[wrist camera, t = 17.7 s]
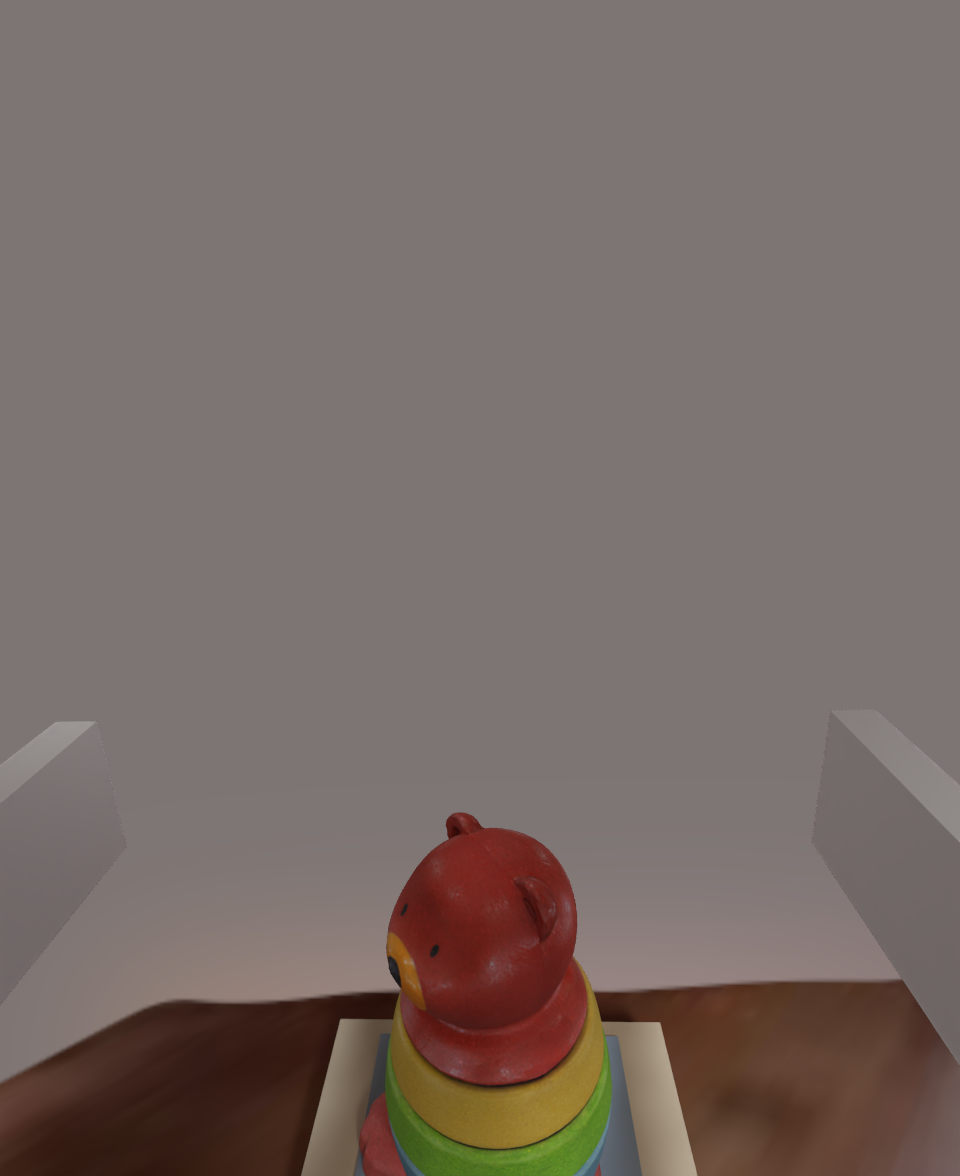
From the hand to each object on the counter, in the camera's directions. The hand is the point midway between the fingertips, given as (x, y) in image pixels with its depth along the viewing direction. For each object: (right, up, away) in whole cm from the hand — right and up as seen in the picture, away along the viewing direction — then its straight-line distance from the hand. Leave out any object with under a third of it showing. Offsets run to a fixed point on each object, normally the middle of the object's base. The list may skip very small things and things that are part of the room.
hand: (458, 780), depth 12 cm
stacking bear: (+1, -23, +18) cm, 29 cm away
